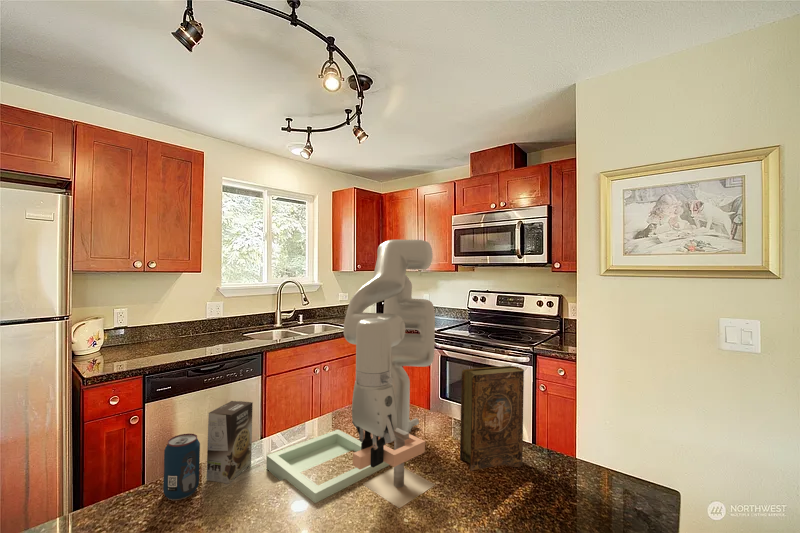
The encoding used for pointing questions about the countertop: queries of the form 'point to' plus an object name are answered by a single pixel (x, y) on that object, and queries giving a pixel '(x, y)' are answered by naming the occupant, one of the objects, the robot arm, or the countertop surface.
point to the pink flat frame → (391, 453)
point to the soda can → (181, 466)
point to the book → (492, 416)
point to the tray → (313, 454)
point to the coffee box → (229, 441)
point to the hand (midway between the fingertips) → (372, 461)
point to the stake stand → (399, 479)
